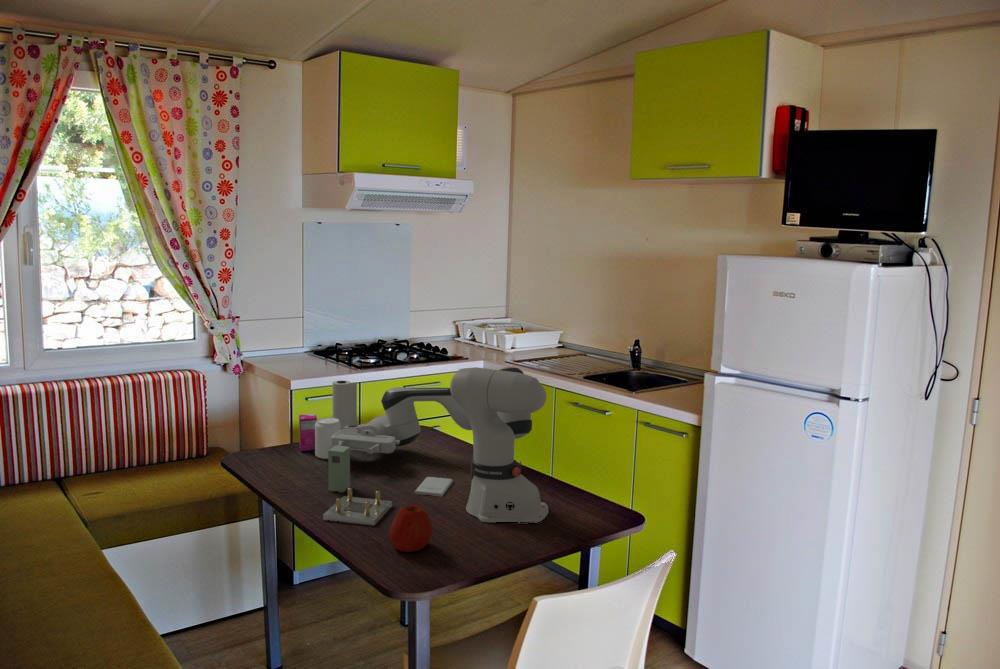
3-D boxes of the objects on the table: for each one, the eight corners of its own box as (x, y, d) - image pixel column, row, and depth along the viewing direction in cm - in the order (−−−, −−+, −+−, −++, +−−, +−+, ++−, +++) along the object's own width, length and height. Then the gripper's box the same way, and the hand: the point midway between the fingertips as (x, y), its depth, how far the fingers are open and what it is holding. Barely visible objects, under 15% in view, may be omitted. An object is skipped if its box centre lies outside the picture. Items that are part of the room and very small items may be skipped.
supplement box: (299, 447, 273) (298, 414, 271) (317, 446, 275) (316, 413, 273) (299, 452, 267) (299, 418, 266) (318, 451, 269) (318, 417, 267)
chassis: (391, 506, 223) (392, 488, 222) (374, 525, 210) (374, 507, 209) (343, 501, 226) (343, 483, 225) (323, 520, 212) (323, 501, 211)
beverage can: (316, 452, 268) (316, 417, 266) (341, 452, 269) (341, 417, 267) (313, 460, 260) (313, 423, 258) (339, 460, 261) (339, 423, 259)
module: (349, 486, 237) (349, 446, 235) (343, 492, 233) (343, 451, 231) (335, 484, 238) (335, 445, 236) (328, 490, 233) (328, 450, 231)
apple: (432, 556, 193) (432, 514, 191) (388, 556, 192) (388, 514, 190) (432, 538, 203) (433, 498, 201) (390, 538, 202) (391, 498, 200)
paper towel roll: (328, 442, 279) (328, 381, 275) (341, 438, 284) (341, 379, 280) (343, 446, 275) (343, 385, 271) (356, 442, 280) (356, 382, 276)
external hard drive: (452, 484, 244) (442, 498, 232) (426, 481, 245) (414, 495, 233) (452, 479, 243) (442, 493, 231) (426, 476, 245) (414, 490, 233)
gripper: (401, 450, 258) (387, 463, 245) (341, 444, 262) (323, 456, 249) (402, 430, 257) (387, 443, 244) (341, 425, 261) (323, 436, 248)
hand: (354, 449), depth 246 cm, fingers open, 8 cm apart
